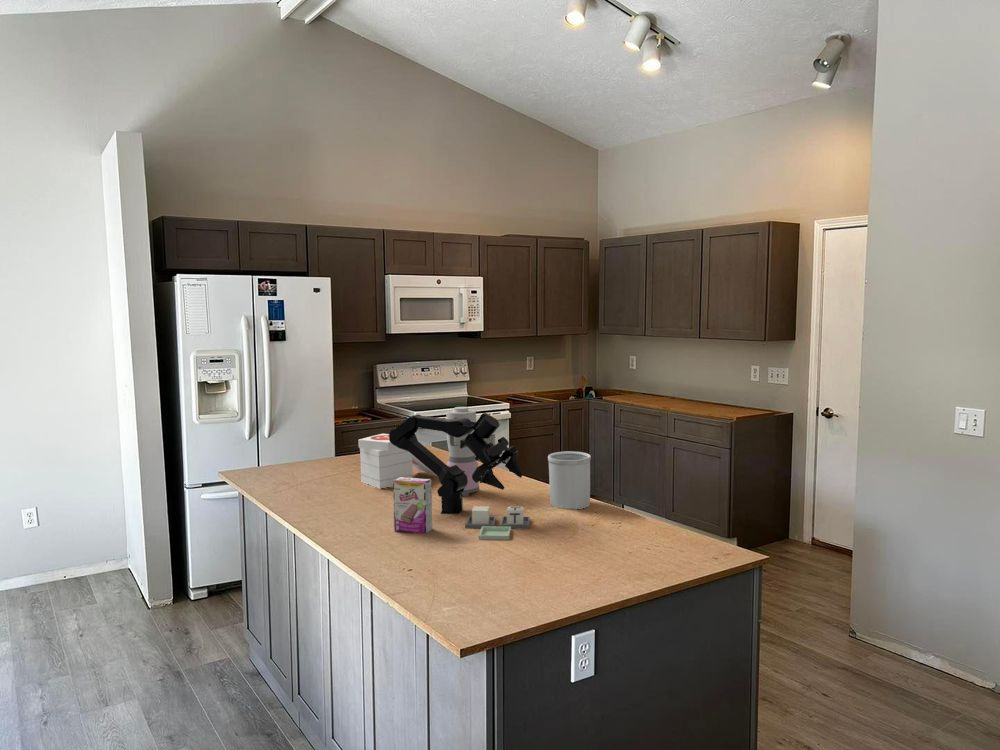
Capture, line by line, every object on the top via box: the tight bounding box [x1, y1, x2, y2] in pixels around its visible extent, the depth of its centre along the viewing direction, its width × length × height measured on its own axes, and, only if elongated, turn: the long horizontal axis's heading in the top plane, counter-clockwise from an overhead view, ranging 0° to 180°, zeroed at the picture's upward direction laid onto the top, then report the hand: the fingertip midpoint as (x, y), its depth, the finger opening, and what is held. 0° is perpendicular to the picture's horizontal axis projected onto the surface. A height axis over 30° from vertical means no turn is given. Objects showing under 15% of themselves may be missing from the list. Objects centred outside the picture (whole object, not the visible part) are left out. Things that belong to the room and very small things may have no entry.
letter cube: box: [506, 506, 525, 524], centre depth 236 cm, size 5×5×5 cm
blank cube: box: [471, 505, 490, 524], centre depth 237 cm, size 5×5×5 cm
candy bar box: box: [392, 477, 433, 534], centre depth 232 cm, size 11×5×16 cm, turn 71°
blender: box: [445, 406, 480, 497], centre depth 276 cm, size 16×12×32 cm
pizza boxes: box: [357, 433, 437, 489], centre depth 299 cm, size 19×30×18 cm, turn 129°
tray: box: [478, 525, 512, 541], centre depth 226 cm, size 9×9×2 cm
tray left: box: [464, 515, 497, 529], centre depth 237 cm, size 9×9×2 cm
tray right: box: [499, 515, 531, 530], centre depth 236 cm, size 9×9×2 cm
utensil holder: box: [547, 450, 592, 510], centre depth 259 cm, size 15×15×18 cm
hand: (512, 482), depth 240 cm, fingers open, 9 cm apart
